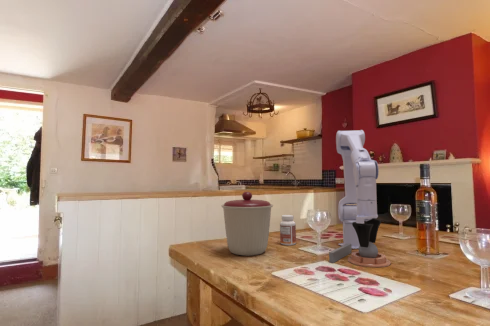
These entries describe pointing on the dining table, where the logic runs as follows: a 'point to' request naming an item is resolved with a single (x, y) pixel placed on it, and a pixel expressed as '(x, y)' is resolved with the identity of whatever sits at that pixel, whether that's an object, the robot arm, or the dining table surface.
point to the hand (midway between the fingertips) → (367, 244)
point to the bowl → (369, 260)
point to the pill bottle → (287, 230)
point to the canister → (247, 225)
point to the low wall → (340, 253)
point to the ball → (368, 251)
